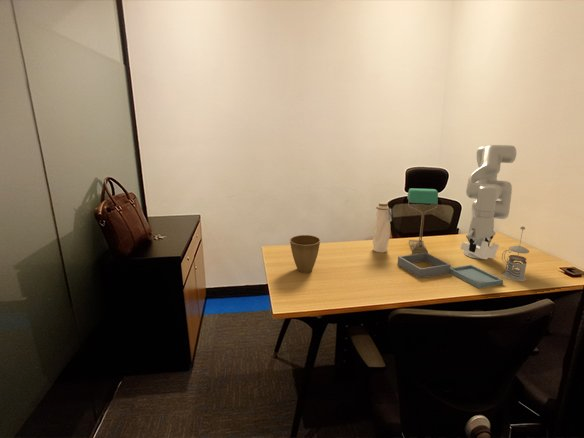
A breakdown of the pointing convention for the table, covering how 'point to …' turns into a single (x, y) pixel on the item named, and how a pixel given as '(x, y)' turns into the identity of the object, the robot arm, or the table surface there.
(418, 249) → the banker's lamp
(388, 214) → the water bottle
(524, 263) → the french press
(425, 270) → the bin
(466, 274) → the tray
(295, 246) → the plant pot
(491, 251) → the bracket
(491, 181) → the robot arm
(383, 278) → the table surface
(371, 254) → the table surface
